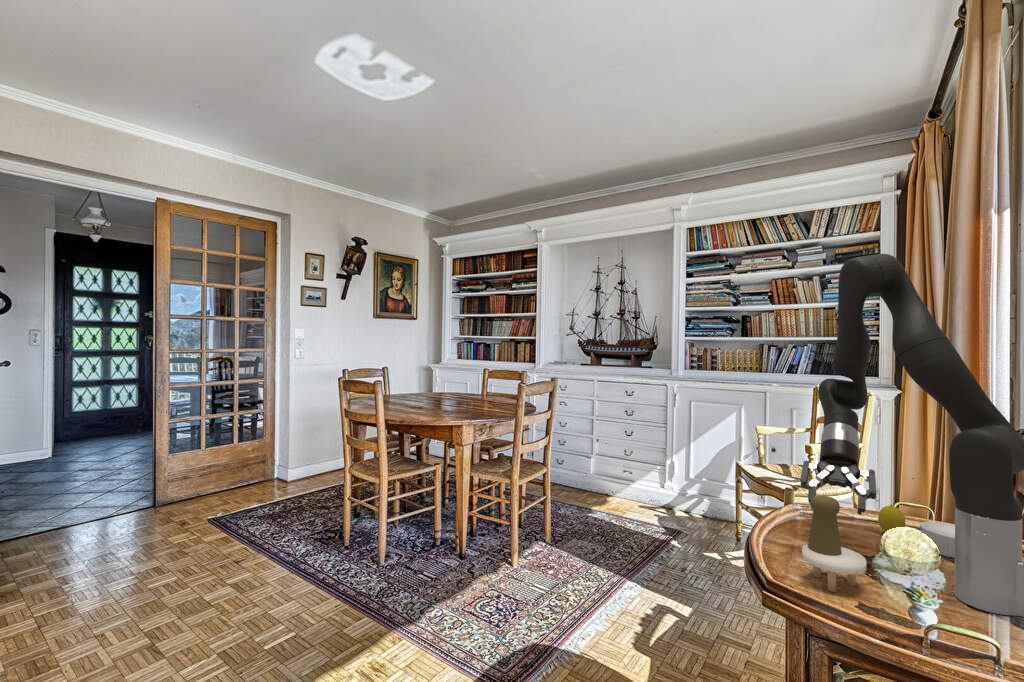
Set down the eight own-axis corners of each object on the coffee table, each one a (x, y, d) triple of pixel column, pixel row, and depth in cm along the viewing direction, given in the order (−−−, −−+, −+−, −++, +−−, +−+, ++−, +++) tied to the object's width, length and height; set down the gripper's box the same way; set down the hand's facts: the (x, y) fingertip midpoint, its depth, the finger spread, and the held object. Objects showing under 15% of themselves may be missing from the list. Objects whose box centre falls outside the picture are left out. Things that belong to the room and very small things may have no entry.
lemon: (903, 534, 127) (904, 503, 127) (906, 542, 123) (907, 509, 123) (877, 530, 130) (877, 499, 130) (879, 537, 126) (879, 505, 126)
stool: (866, 581, 102) (867, 552, 102) (865, 603, 94) (865, 571, 94) (805, 566, 109) (805, 539, 109) (798, 585, 100) (798, 556, 100)
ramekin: (986, 566, 110) (986, 543, 110) (920, 553, 116) (920, 531, 116) (978, 550, 119) (978, 528, 119) (918, 538, 125) (918, 517, 125)
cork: (846, 557, 100) (847, 502, 100) (813, 554, 101) (813, 500, 101) (834, 545, 106) (835, 493, 106) (803, 542, 107) (803, 491, 107)
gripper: (803, 433, 119) (797, 493, 110) (877, 441, 111) (876, 506, 102) (805, 451, 124) (799, 510, 115) (876, 460, 115) (876, 524, 106)
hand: (835, 508), depth 108 cm, fingers open, 8 cm apart
